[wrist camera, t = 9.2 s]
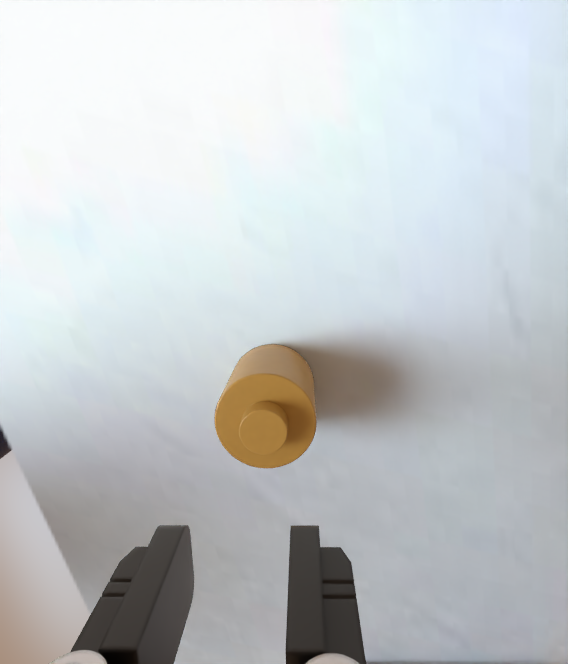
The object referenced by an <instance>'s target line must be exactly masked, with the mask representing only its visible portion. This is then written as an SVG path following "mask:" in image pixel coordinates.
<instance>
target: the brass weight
mask: <svg viewBox="0 0 568 664" xmlns="http://www.w3.org/2000/svg"><path fill="white" fill-rule="evenodd" d="M215 428H216V432H217V435H218V437H219V440H220V442H221V443H222V445H223V446H224V448H225V449H226V450H227V451H228V452H229V453H230V454H231V455H232V456H233V457H234V458H236V459H237V460H239V461H241V462H242V463H245V464H247V465H250V466H253V467H258V468H275V467H280V466H283V465H286V464H289V463H291V462H293V461H294V460H296V459H297V458H299V457H300V456H301V455H302V454H303V453H304V452H305V451H306V450H307V448H308V447H309V446H310V444H311V442H312V440H313V438H314V435H315V431H316V407H315V393H314V380H313V375H312V371H311V369H310V367H309V365H308V363H307V362H306V361H305V359H304V358H303V357H302V356H301V355H300V354H298V353H297V352H296V351H294V350H292V349H290V348H288V347H285V346H282V345H276V344H268V345H262V346H258V347H256V348H254V349H252V350H250V351H248V352H247V353H246V354H245V355H243V356H242V357H241V359H240V360H239V361H238V363H237V364H236V366H235V368H234V370H233V372H232V374H231V376H230V378H229V380H228V383H227V385H226V387H225V389H224V391H223V393H222V395H221V397H220V399H219V401H218V403H217V407H216V410H215Z"/></svg>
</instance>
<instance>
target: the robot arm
mask: <svg viewBox="0 0 568 664" xmlns="http://www.w3.org/2000/svg"><path fill="white" fill-rule="evenodd" d="M193 590H194V571H193V559H192V547H191V536H190V529H189V526H158V527H157V529H156V531H155V533H154V535H153V537H152V539H151V541H150V543H149V545H148V547H135V548H134V549H133V550H132V551H131V552H130V553H129V554H128V555H127V556H125V557H124V558H123V559H122V560H121V561H120V562H119V564H118V566H117V568H116V570H115V571H114V573H113V575H112V577H111V579H110V582H108V584H107V586H106V588H105V590H104V591H103V593H102V597H100V599H99V601H98V602H97V604H96V606H95V608H94V610H93V611H92V613H91V615H90V617H89V619H88V621H87V622H86V624H85V626H84V628H83V630H82V632H81V634H80V635H79V637H78V639H77V641H76V643H75V644H74V646H73V648H72V650H71V652H70V653H68V654H65V655H63V656H61V657H59V658H57V659H56V660H54V661H52V662H51V663H50V664H174V661H175V657H176V654H177V651H178V647H179V644H180V640H181V637H182V634H183V630H184V627H185V624H186V620H187V617H188V613H189V610H190V607H191V603H192V598H193ZM286 664H366V660H365V654H364V648H363V641H362V634H361V627H360V620H359V613H358V606H357V599H356V593H355V586H354V579H353V572H352V565H351V562H350V560H349V559H348V557H347V556H346V555H345V553H344V552H343V550H342V549H341V548H340V547H320V538H319V526H291V531H290V556H289V582H288V607H287V632H286Z"/></svg>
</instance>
